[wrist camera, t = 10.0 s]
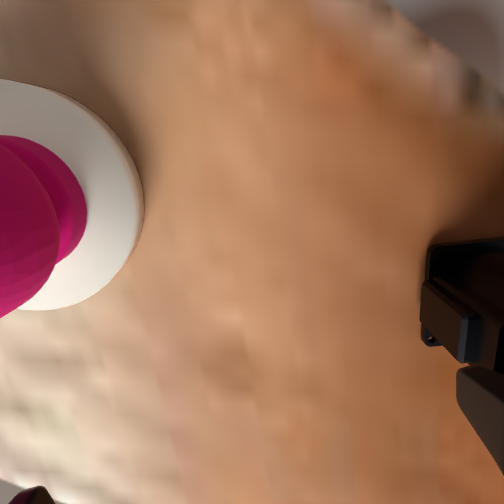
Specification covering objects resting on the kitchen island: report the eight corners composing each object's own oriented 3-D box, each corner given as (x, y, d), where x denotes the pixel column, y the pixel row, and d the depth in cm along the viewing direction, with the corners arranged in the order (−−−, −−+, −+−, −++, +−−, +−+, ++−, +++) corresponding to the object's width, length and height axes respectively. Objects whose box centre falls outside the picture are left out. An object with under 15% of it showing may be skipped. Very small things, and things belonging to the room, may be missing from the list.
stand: (119, 72, 17) (103, 65, 15) (161, 283, 20) (153, 299, 18) (-111, 96, 17) (-155, 92, 15) (-28, 302, 20) (-56, 320, 18)
